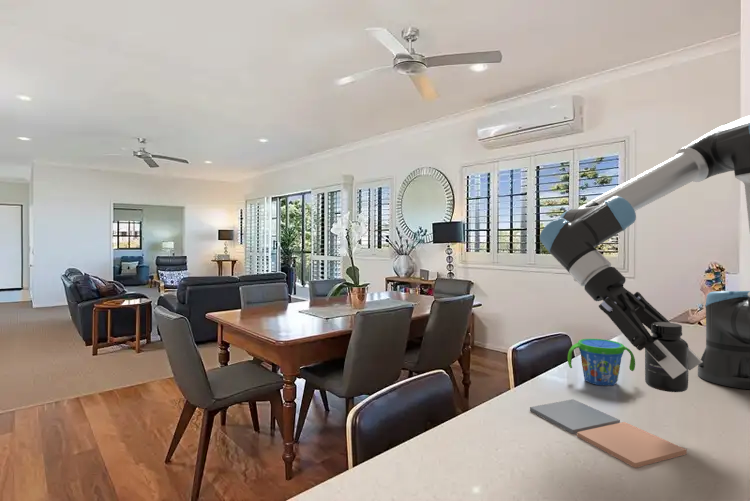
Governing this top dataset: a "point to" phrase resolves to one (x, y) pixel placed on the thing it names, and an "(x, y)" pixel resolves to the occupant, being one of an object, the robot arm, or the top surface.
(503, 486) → the top surface
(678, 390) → the supplement bottle
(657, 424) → the top surface
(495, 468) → the top surface
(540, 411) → the slate pad
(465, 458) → the top surface
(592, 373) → the snack cup
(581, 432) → the terracotta pad
